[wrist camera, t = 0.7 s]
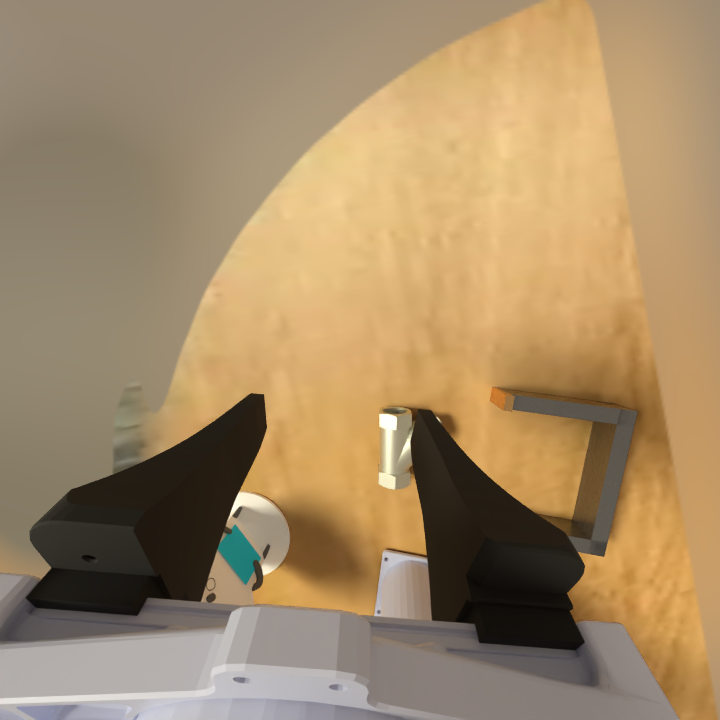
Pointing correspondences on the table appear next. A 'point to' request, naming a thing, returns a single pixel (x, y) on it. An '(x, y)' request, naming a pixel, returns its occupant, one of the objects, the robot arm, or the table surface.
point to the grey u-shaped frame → (586, 460)
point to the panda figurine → (247, 550)
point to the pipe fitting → (395, 447)
